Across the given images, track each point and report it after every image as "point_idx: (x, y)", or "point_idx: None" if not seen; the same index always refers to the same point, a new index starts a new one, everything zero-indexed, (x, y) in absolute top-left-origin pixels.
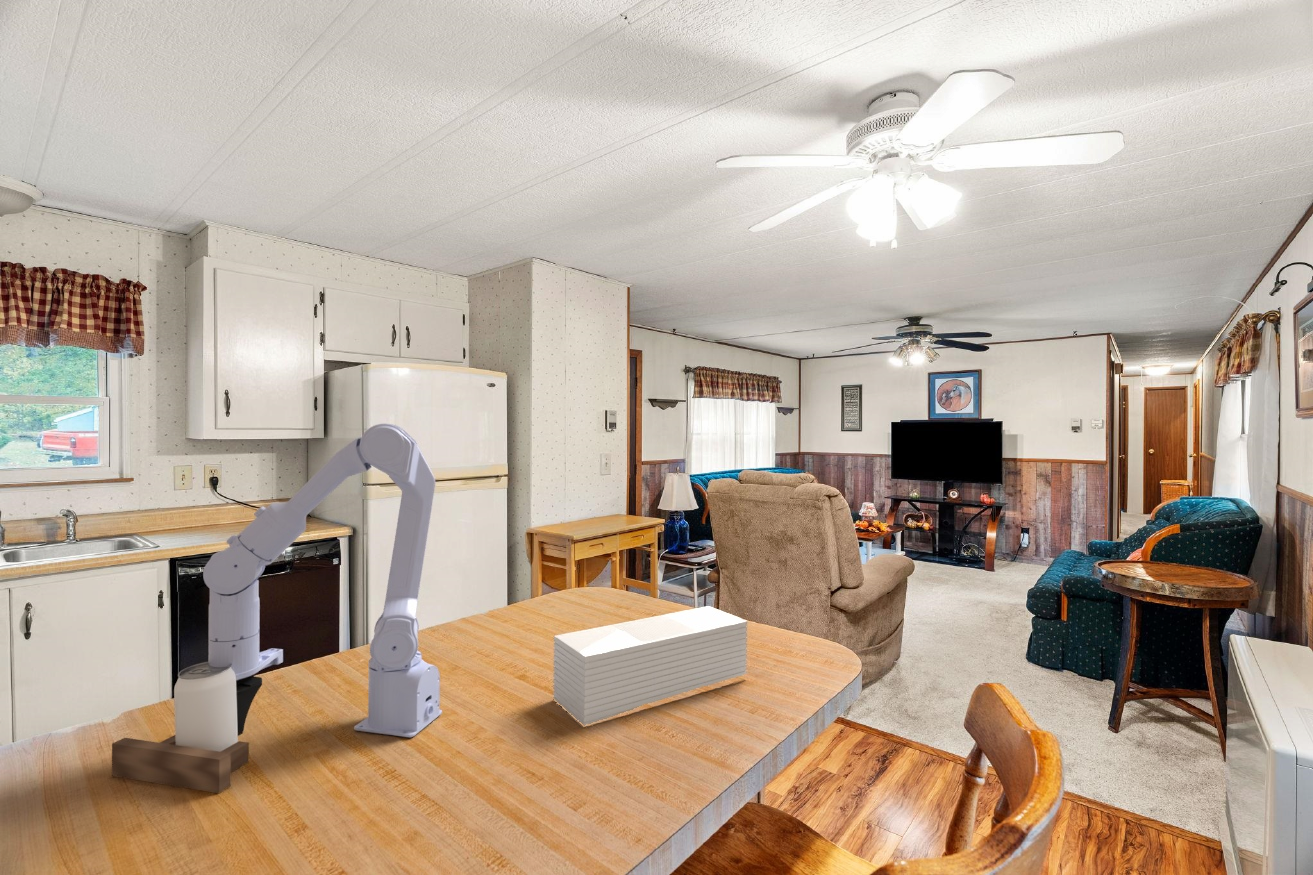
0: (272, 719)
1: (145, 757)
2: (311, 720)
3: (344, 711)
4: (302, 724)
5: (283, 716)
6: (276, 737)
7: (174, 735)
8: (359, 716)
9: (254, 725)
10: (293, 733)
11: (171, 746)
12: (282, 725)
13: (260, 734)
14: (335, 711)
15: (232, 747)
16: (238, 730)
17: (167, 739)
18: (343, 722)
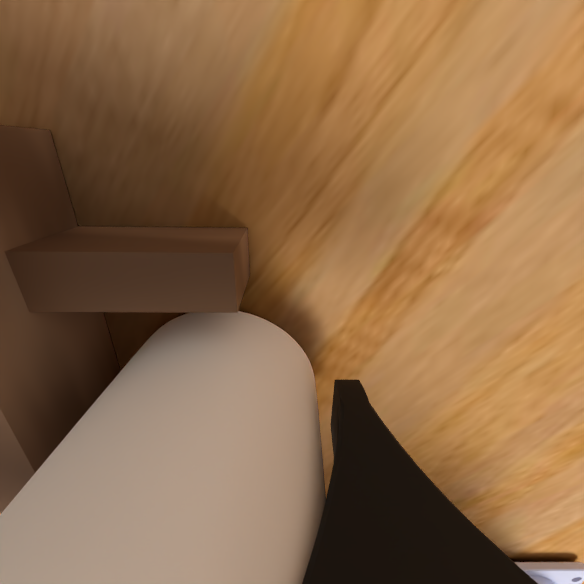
0: (539, 353)
1: None
2: (516, 459)
3: (572, 495)
4: (488, 454)
5: (562, 371)
6: (400, 444)
7: (198, 258)
8: (531, 534)
9: (489, 330)
10: (428, 466)
11: (18, 472)
12: (484, 411)
13: (416, 395)
14: (577, 478)
15: None
16: (334, 447)
17: (154, 261)
18: (495, 523)
